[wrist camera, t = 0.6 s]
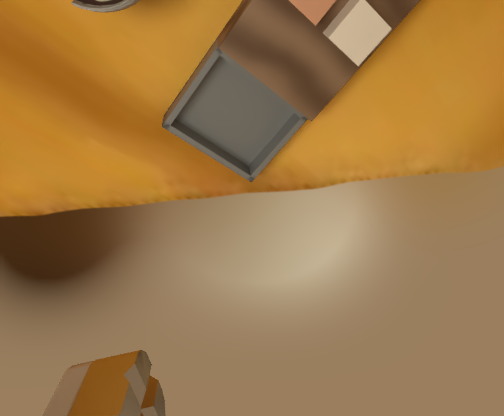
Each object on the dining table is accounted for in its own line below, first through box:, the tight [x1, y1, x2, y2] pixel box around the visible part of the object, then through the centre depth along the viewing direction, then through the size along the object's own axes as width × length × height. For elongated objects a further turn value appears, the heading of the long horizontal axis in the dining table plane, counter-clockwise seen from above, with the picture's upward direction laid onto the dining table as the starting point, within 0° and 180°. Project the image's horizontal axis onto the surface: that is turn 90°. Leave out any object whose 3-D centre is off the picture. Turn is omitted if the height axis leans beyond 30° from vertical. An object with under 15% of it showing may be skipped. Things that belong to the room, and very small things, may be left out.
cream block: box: [323, 0, 392, 66], centre depth 42 cm, size 5×5×2 cm
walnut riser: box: [217, 0, 420, 121], centre depth 44 cm, size 19×15×5 cm
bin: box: [162, 39, 308, 182], centre depth 51 cm, size 12×15×4 cm
